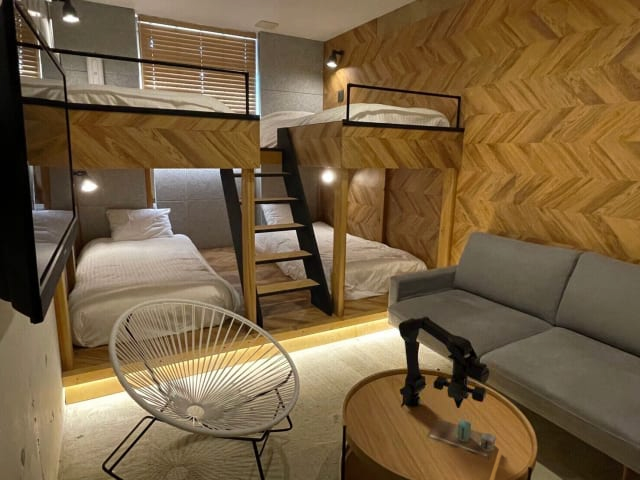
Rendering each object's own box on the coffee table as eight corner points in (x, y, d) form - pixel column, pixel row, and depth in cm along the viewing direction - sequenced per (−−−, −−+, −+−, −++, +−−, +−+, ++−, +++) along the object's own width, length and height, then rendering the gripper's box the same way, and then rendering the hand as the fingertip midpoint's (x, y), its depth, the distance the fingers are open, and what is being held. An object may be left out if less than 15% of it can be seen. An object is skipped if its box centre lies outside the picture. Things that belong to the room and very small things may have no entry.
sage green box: (456, 438, 165) (457, 425, 164) (459, 432, 169) (460, 418, 167) (467, 442, 163) (468, 428, 162) (470, 435, 167) (471, 422, 165)
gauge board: (426, 439, 168) (427, 428, 166) (436, 420, 178) (437, 409, 177) (490, 462, 156) (491, 450, 154) (497, 440, 166) (498, 429, 165)
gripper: (429, 374, 163) (427, 410, 167) (480, 389, 153) (477, 427, 157) (438, 361, 172) (437, 396, 176) (487, 374, 162) (485, 411, 166)
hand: (458, 407), depth 168 cm, fingers closed
